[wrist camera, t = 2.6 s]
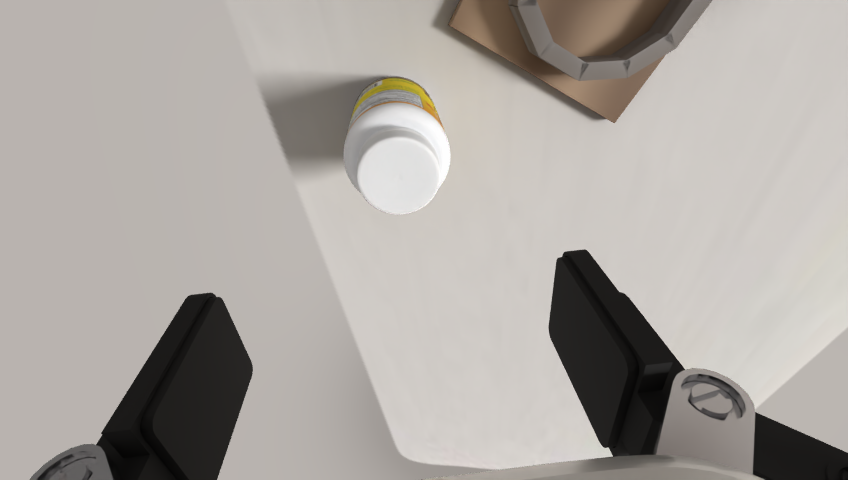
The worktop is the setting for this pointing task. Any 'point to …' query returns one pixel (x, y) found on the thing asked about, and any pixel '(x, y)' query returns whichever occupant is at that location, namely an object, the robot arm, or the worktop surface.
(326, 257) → the worktop surface
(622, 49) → the rosette collar
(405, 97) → the supplement bottle
